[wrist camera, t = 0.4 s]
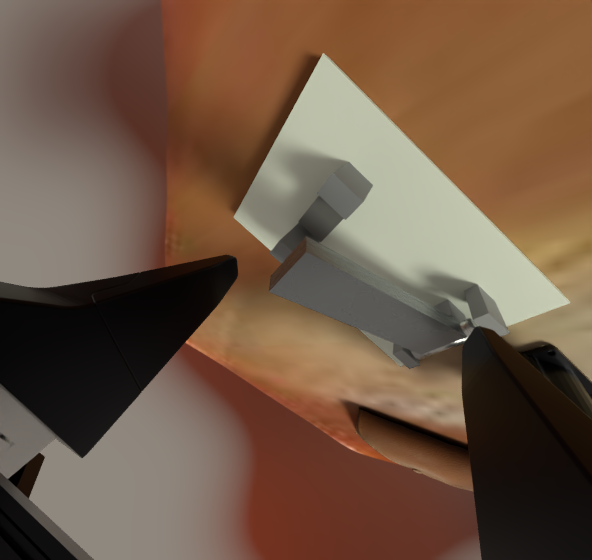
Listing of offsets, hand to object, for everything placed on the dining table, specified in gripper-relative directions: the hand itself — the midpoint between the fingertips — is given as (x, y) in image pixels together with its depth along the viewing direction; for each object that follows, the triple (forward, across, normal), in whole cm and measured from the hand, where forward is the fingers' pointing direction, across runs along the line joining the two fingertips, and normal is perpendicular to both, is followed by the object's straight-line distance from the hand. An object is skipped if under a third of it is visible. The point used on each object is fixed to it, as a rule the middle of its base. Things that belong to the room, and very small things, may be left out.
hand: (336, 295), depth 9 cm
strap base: (+13, 0, +3) cm, 14 cm away
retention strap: (+7, -2, +4) cm, 8 cm away
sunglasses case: (+15, -13, +31) cm, 37 cm away
